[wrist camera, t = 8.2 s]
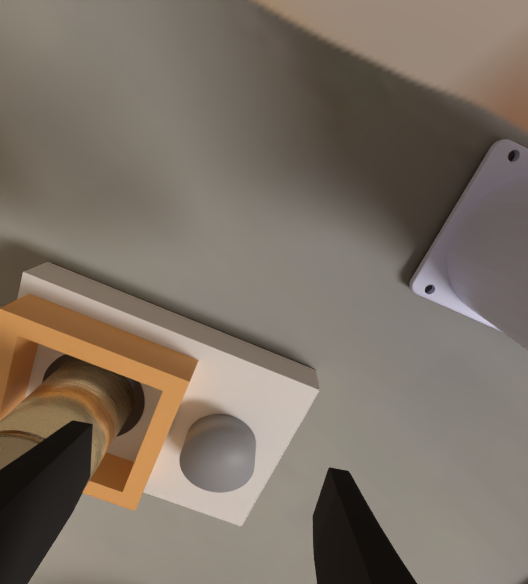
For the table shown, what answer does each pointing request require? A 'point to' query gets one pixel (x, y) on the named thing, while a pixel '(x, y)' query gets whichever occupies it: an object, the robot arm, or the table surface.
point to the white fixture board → (160, 392)
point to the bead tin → (69, 410)
